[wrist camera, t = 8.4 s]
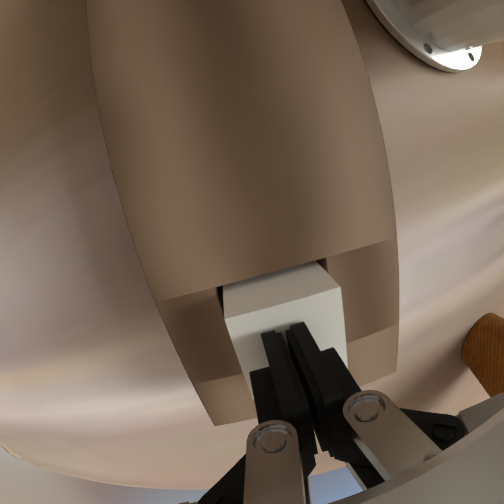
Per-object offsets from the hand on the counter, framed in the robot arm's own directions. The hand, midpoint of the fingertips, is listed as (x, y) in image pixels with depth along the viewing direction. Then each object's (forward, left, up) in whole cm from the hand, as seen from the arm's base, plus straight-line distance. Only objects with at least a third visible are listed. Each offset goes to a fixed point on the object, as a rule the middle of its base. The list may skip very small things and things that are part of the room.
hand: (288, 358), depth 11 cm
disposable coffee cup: (-22, +15, -9) cm, 28 cm away
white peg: (0, 0, -6) cm, 6 cm away
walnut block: (-1, -14, -8) cm, 16 cm away
